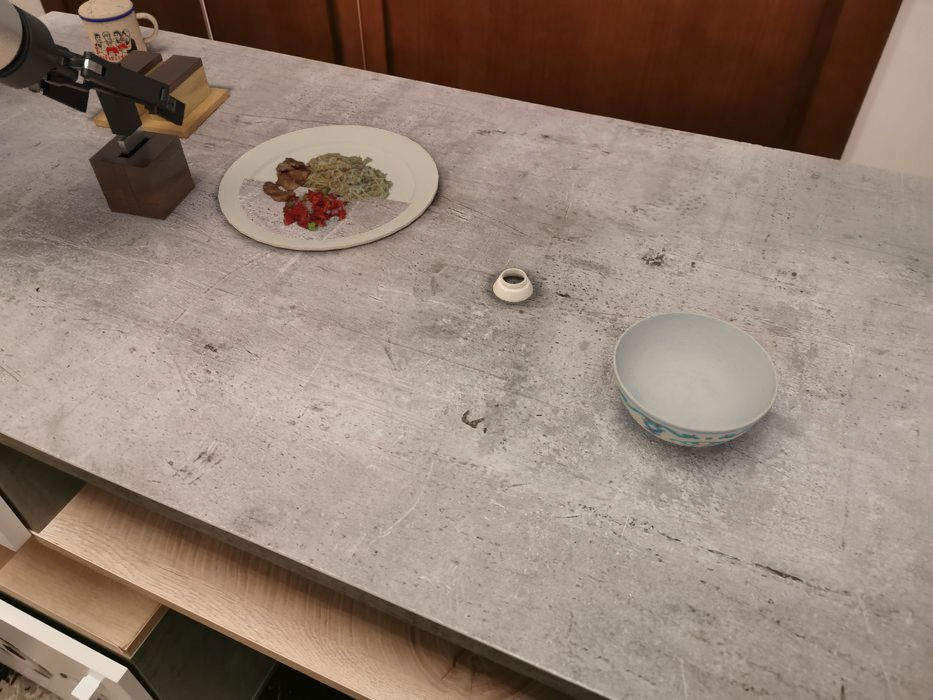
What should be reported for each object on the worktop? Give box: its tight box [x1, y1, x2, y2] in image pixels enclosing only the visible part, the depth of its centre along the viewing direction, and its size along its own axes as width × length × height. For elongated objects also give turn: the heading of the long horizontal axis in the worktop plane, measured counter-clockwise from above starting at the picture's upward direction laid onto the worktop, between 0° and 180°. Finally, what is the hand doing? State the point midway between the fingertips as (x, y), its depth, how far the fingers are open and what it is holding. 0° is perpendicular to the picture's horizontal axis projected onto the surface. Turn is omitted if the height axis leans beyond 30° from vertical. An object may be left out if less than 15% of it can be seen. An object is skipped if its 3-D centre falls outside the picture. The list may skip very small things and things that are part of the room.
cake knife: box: [94, 62, 146, 158], centre depth 92 cm, size 2×4×20 cm, turn 165°
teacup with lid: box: [77, 0, 159, 63], centre depth 127 cm, size 12×9×12 cm
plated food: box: [217, 124, 439, 251], centre depth 100 cm, size 30×30×3 cm
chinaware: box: [612, 311, 779, 448], centre depth 71 cm, size 15×15×8 cm
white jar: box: [492, 267, 534, 303], centre depth 85 cm, size 5×3×5 cm
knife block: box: [88, 131, 196, 221], centre depth 96 cm, size 8×8×9 cm
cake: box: [92, 50, 230, 139], centre depth 115 cm, size 16×14×7 cm
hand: (132, 108), depth 91 cm, fingers open, 13 cm apart
